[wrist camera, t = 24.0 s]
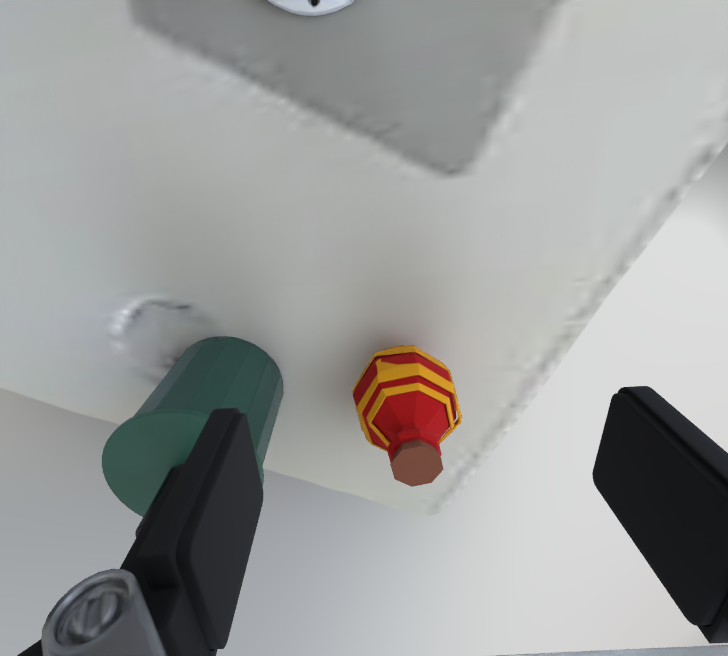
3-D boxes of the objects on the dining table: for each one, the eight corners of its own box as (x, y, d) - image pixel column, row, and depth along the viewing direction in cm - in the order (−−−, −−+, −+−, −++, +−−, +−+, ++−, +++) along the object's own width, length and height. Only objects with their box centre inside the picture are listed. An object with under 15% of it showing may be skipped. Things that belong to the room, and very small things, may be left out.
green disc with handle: (87, 407, 31) (22, 472, 25) (251, 398, 31) (226, 461, 25) (135, 522, 37) (92, 598, 31) (275, 515, 37) (259, 589, 31)
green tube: (163, 339, 43) (90, 416, 31) (275, 333, 43) (244, 408, 31) (190, 428, 48) (136, 523, 36) (289, 422, 48) (267, 516, 36)
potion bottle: (346, 400, 46) (343, 508, 33) (359, 318, 42) (360, 405, 29) (435, 409, 47) (467, 519, 34) (456, 330, 43) (503, 420, 29)
